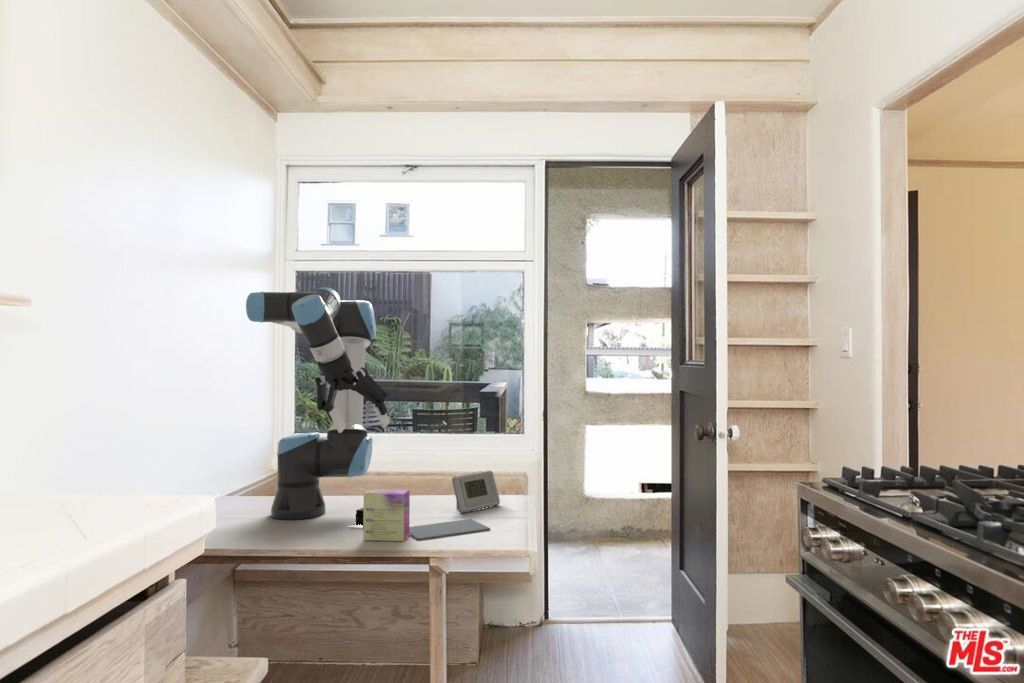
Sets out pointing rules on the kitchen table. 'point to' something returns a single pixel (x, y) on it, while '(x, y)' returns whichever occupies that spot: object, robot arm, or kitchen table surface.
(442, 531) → the mat
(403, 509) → the box
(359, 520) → the black slotted mount bracket
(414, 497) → the kitchen table surface
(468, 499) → the digital clock
